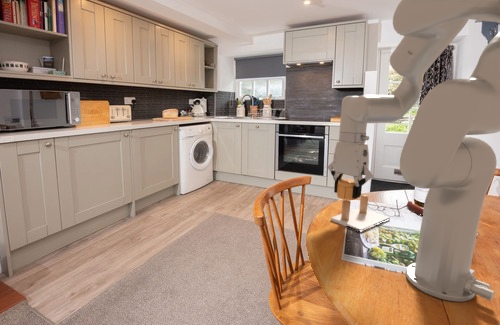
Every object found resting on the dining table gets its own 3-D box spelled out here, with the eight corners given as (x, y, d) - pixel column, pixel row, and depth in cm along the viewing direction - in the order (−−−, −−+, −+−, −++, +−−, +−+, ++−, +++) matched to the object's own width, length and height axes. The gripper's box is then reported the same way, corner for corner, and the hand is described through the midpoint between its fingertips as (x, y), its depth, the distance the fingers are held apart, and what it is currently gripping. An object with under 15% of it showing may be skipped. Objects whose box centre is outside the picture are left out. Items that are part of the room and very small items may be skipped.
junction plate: (389, 220, 96) (391, 199, 95) (360, 232, 87) (363, 210, 85) (359, 210, 105) (361, 191, 103) (330, 220, 95) (332, 199, 94)
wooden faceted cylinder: (349, 201, 88) (350, 185, 87) (333, 195, 93) (334, 180, 92) (360, 197, 92) (362, 182, 91) (344, 192, 96) (346, 177, 95)
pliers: (421, 228, 91) (422, 220, 91) (405, 206, 110) (406, 199, 110) (463, 233, 88) (465, 225, 88) (439, 209, 108) (440, 203, 107)
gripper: (386, 140, 84) (379, 200, 88) (336, 134, 97) (332, 186, 101) (371, 142, 79) (364, 205, 83) (321, 135, 93) (317, 189, 97)
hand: (346, 194), depth 92 cm, fingers closed on wooden faceted cylinder, 6 cm apart
